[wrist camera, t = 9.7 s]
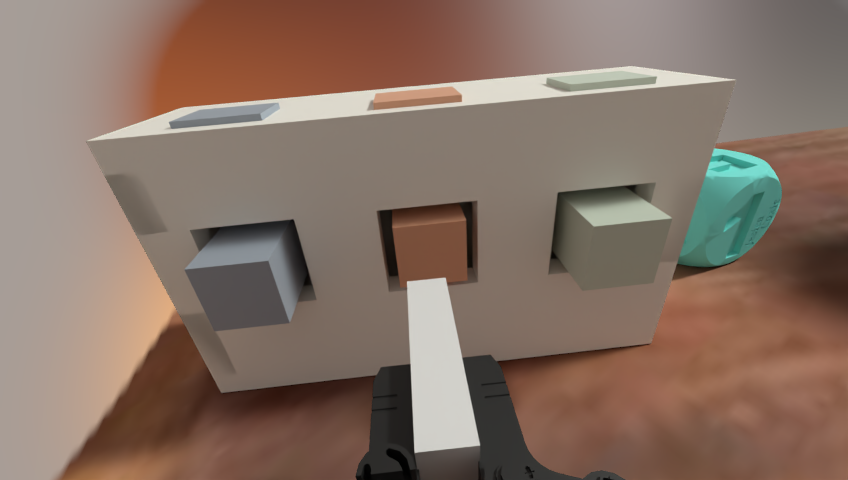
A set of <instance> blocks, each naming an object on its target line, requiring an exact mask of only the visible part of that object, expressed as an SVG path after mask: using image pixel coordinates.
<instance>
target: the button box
mask: <svg viewBox="0 0 848 480" xmlns="http://www.w3.org/2000/svg"><path fill="white" fill-rule="evenodd" d="M735 83H736V80H733V79H725V78H718V77H709V76H703V75H695V74H686V73H679V72H672V71H664V70H657V69H649V68H641V67H634V66H629V67H618V68H608V69H598V70H586V71H576V72H564V73H553V74H542V75H532V76H521V77H510V78H499V79H488V80H478V81H467V82H456V83H445V84H434V85H423V86H412V87H401V88H391V89H380V90H370V91H358V92H348V93H336V94H326V95H315V96H304V97H294V98H283V99H271V100H261V101H250V102H239V103H228V104H217V105H206V106H196V107H185V108H180V109H177V110H174V111H172V112H168V113H166V114H163V115H160V116H157V117H154V118H151V119H148V120H145V121H143V122H140V123H137V124H134V125H131V126H128V127H125V128H122V129H120V130H117V131H114V132H111V133H108V134H105V135H103V136H99V137H97V138H94V139H91V140H88V141H86V143H87V144H88V146H89V148H90V150H91V152H92V154H93V156H94V157H95V159H96V161H97V163H98V165H99V167H100V169H101V170H102V172H103V174H104V176H105V178H106V180H107V182H108V183H109V185H110V187H111V189H112V191H113V193H114V195H115V196H116V198H117V200H118V202H119V204H120V206H121V208H122V209H123V211H124V213H125V215H126V217H127V219H128V221H129V222H130V224H131V226H132V228H133V230H134V232H135V233H136V235H137V237H138V239H139V241H140V243H141V245H142V247H143V248H144V250H145V252H146V254H147V256H148V258H149V259H150V261H151V263H152V265H153V267H154V269H155V270H156V273H157V274H158V276H159V278H160V280H161V282H162V284H163V285H164V287H165V289H166V291H167V293H168V295H169V297H170V298H171V300H172V302H173V304H174V306H175V308H176V310H177V312H178V313H179V315H180V317H181V319H182V321H183V323H184V325H185V326H186V328H187V330H188V332H189V334H190V336H191V338H192V339H193V341H194V343H195V345H196V347H197V349H198V351H199V352H200V354H201V356H202V358H203V360H204V362H205V364H206V365H207V367H208V369H209V371H210V373H211V375H212V377H213V378H214V380H215V382H216V384H217V386H218V388H219V390H220V392H221V393H225V392H234V391H243V390H251V389H260V388H269V387H277V386H286V385H295V384H303V383H312V382H321V381H329V380H338V379H347V378H355V377H364V376H373V375H377V374H378V372H379V370H380V368H381V367H386V366H396V365H405V364H411V363H410V341H409V318H408V296H407V287H403V288H400V281H399V274H398V266H397V259H396V252H395V244H394V237H393V230H392V209H399V208H409V207H419V206H429V205H438V204H448V203H458V202H459V204H460V206H461V209H462V211H463V214H464V216H465V219H466V234H467V281H458V282H449V283H447V287H448V292H449V296H450V301H451V306H452V311H453V316H454V321H455V326H456V330H457V335H458V340H459V345H460V350H461V355H462V357H472V356H481V355H491V356H492V357H493V358H494V359H495V360H496V361H503V360H512V359H520V358H529V357H538V356H546V355H555V354H564V353H572V352H581V351H590V350H598V349H607V348H616V347H625V346H633V345H642V344H651V342H652V339H653V336H654V333H655V330H656V327H657V324H658V321H659V318H660V315H661V312H662V308H663V305H664V302H665V299H666V296H667V293H668V290H669V287H670V284H671V281H672V278H673V274H674V271H675V268H676V265H677V262H678V259H679V256H680V253H681V250H682V247H683V244H684V241H685V237H686V234H687V231H688V228H689V225H690V222H691V219H692V216H693V213H694V210H695V207H696V203H697V200H698V197H699V194H700V191H701V188H702V185H703V182H704V179H705V176H706V173H707V170H708V166H709V163H710V160H711V157H712V154H713V151H714V148H715V145H716V141H717V138H718V135H719V132H720V129H721V126H722V123H723V120H724V117H725V114H726V111H727V108H728V105H729V102H730V98H731V95H732V92H733V89H734V86H735ZM615 186H624V187H626V188H627V189H629V190H630V191H632V192H633V193H635V194H636V195H638V196H639V197H641V198H642V199H644V200H645V201H647V202H648V203H650V204H652V205H653V206H655V207H656V208H658V209H659V210H661V211H662V212H664V213H665V214H667V215H668V216H670V217H671V218H672V222H671V225H670V229H669V232H668V235H667V239H666V242H665V246H664V249H663V252H662V256H661V259H660V263H659V266H658V269H657V273H656V276H655V280H654V283H649V284H640V285H631V286H622V287H613V288H604V289H595V290H586V291H582V290H581V288H580V287H579V286H578V284H577V283H576V282H575V280H574V279H573V277H572V276H571V275H570V273H569V272H568V271H567V269H566V268H565V267H564V265H563V264H562V263H561V261H560V260H559V259H558V257H557V256H556V255H555V253H554V252H553V251H552V249H551V247H552V238H553V229H554V221H555V212H556V203H557V194H558V192H566V191H576V190H585V189H595V188H605V187H615ZM291 219H294V221H295V225H296V228H297V232H298V236H299V239H300V243H301V246H302V250H303V253H304V257H305V260H306V264H307V267H308V273H307V276H306V279H305V282H304V284H303V287H302V290H301V293H300V296H299V298H298V301H297V304H296V307H295V310H294V313H293V315H292V318H291V321H290V323H286V324H277V325H268V326H259V327H250V328H241V329H232V330H223V331H214V330H213V327H212V325H211V323H210V321H209V319H208V317H207V315H206V313H205V311H204V309H203V307H202V305H201V303H200V301H199V299H198V297H197V295H196V293H195V291H194V289H193V287H192V285H191V283H190V281H189V278H188V276H187V274H186V272H185V270H184V269H185V268H186V267H187V266H188V265H189V264H190V262H191V261H192V260H193V259H194V258H195V257H196V256H197V254H198V253H199V252H200V251H201V250H202V249H203V248H204V247H205V245H206V244H207V243H208V242H209V241H210V240H211V239H212V238H213V236H214V235H215V234H216V233H217V232H218V231H219V230H220V228H221V227H223V226H232V225H242V224H252V223H262V222H272V221H282V220H291Z"/></svg>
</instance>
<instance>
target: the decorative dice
mask: <svg viewBox="0 0 848 480" xmlns="http://www.w3.org/2000/svg"><path fill="white" fill-rule="evenodd" d="M781 196H782V189H781V185H780V182H779V179H778V177H777V176H776V174H775V172H774V171H773V169H772V168H771V167H770V166H769V164H768V163H767V162H765V161H764V160H762V159H759V158H757V157H754V156H751V155H748V154H744V153H740V152H735V151H729V150H722V149H714V151H713V154H712V157H711V160H710V163H709V166H708V170H707V173H706V176H705V179H704V182H703V185H702V188H701V191H700V194H699V197H698V200H697V203H696V207H695V210H694V213H693V216H692V219H691V222H690V225H689V228H688V231H687V234H686V237H685V241H684V244H683V247H682V250H681V253H680V256H679V259H678V262H677V264H681V265H687V266H695V267H714V266H720V265H724V264H728V263H730V262H732V261H734V260H736V259H738V258H739V257H741V256H742V255H744V254H745V253H746V252H747V251H748V250H750V249H751V248H752V247H753V246H754V245H755V244H756V243H757V242H758V241H759V239H760V238H761V237H762V236H763V234H764V233H765V232H766V230H767V229H768V227H769V226H770V224H771V223H772V221H773V219H774V217H775V215H776V213H777V211H778V208H779V205H780V202H781Z"/></svg>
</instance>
